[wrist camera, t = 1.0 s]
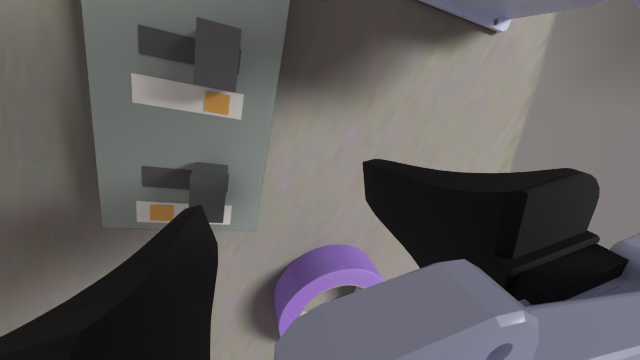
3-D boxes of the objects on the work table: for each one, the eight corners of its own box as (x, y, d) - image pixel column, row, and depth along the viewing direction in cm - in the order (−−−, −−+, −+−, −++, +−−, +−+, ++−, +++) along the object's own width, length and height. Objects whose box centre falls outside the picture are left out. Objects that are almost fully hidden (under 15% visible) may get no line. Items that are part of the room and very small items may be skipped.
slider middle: (241, 34, 15) (241, 29, 13) (235, 88, 16) (235, 92, 14) (202, 23, 14) (196, 16, 12) (200, 81, 15) (193, 84, 13)
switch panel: (307, -158, 14) (320, -200, 12) (253, 215, 23) (255, 232, 21) (84, -282, 11) (43, -373, 9) (117, 209, 19) (101, 229, 17)
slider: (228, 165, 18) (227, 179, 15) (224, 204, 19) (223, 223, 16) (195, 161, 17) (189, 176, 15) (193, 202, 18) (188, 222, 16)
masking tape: (383, 291, 33) (400, 318, 29) (300, 338, 32) (308, 371, 28) (355, 225, 27) (371, 248, 24) (252, 279, 26) (255, 312, 23)
